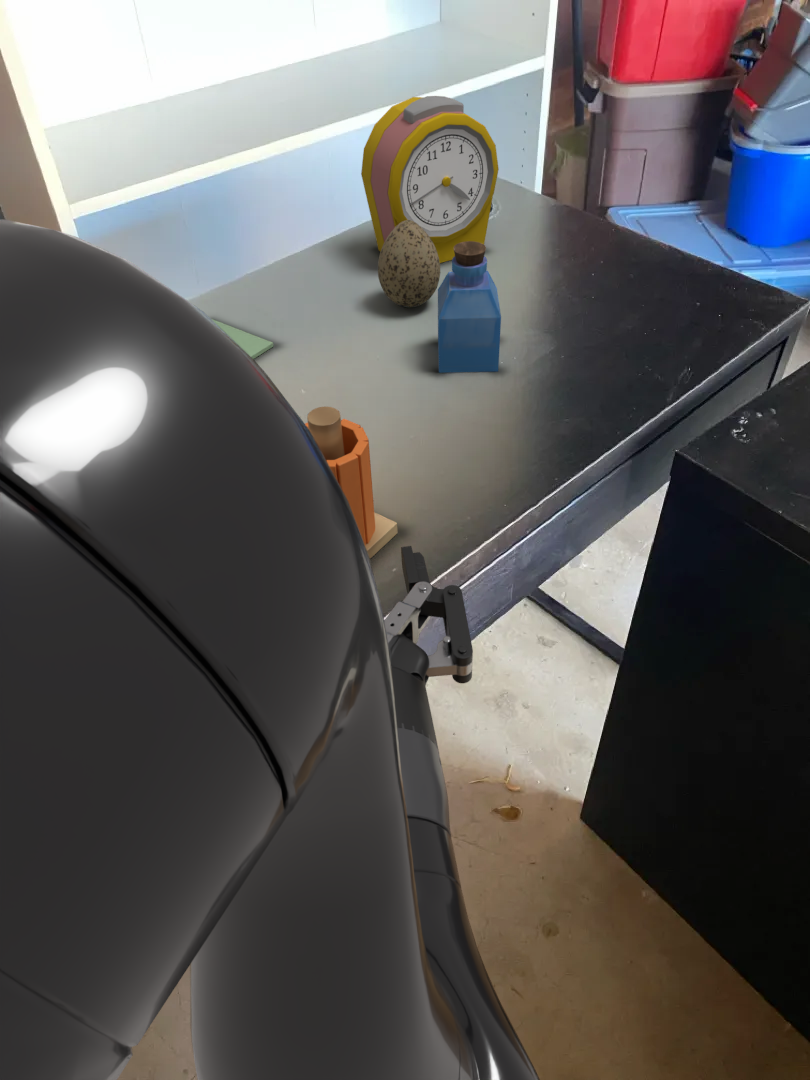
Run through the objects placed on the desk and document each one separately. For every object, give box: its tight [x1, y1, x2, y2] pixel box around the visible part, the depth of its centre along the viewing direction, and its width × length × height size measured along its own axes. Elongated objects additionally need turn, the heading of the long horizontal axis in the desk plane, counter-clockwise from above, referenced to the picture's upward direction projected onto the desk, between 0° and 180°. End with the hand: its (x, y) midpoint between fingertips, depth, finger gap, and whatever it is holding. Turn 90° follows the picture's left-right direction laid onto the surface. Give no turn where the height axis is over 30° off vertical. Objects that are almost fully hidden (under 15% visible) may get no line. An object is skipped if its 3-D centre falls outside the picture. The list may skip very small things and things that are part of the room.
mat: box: [211, 318, 274, 360], centre depth 90 cm, size 12×10×1 cm
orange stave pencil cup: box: [304, 418, 375, 546], centre depth 64 cm, size 6×6×9 cm
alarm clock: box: [360, 95, 500, 264], centre depth 101 cm, size 15×8×18 cm, turn 118°
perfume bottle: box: [437, 241, 502, 374], centre depth 84 cm, size 6×6×12 cm
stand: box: [306, 406, 398, 560], centre depth 64 cm, size 7×7×12 cm
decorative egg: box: [377, 220, 441, 308], centre depth 94 cm, size 7×7×10 cm
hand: (343, 562), depth 56 cm, fingers open, 8 cm apart
